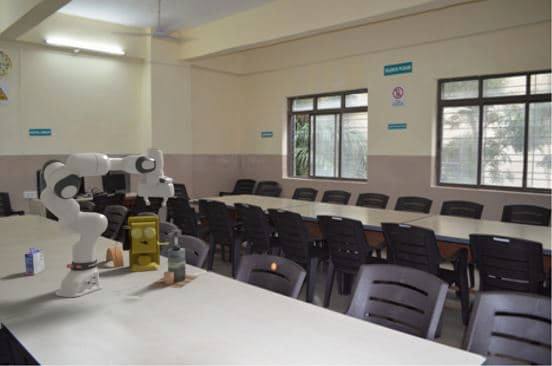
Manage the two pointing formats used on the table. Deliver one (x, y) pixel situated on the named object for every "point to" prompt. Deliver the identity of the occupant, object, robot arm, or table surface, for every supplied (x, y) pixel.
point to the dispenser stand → (176, 269)
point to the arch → (111, 256)
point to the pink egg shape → (169, 278)
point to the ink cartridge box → (34, 262)
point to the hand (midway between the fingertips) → (155, 205)
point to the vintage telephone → (142, 243)
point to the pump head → (175, 235)
